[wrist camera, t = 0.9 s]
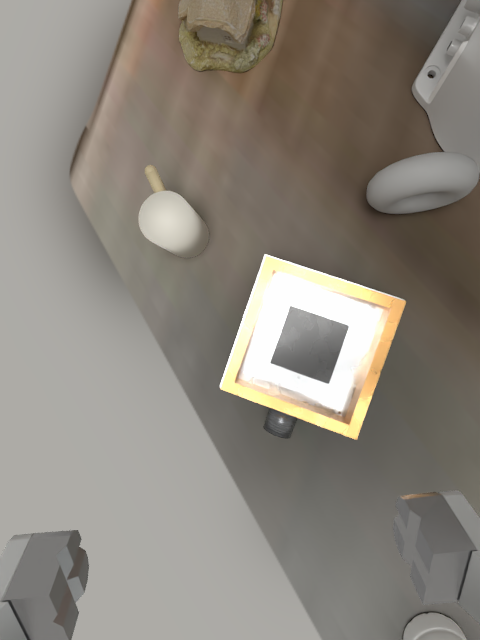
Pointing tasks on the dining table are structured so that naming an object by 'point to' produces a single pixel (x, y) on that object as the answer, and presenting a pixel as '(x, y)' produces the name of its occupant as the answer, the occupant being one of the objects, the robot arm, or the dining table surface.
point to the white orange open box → (311, 348)
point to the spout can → (171, 220)
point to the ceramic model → (227, 32)
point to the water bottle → (432, 628)
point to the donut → (422, 183)
